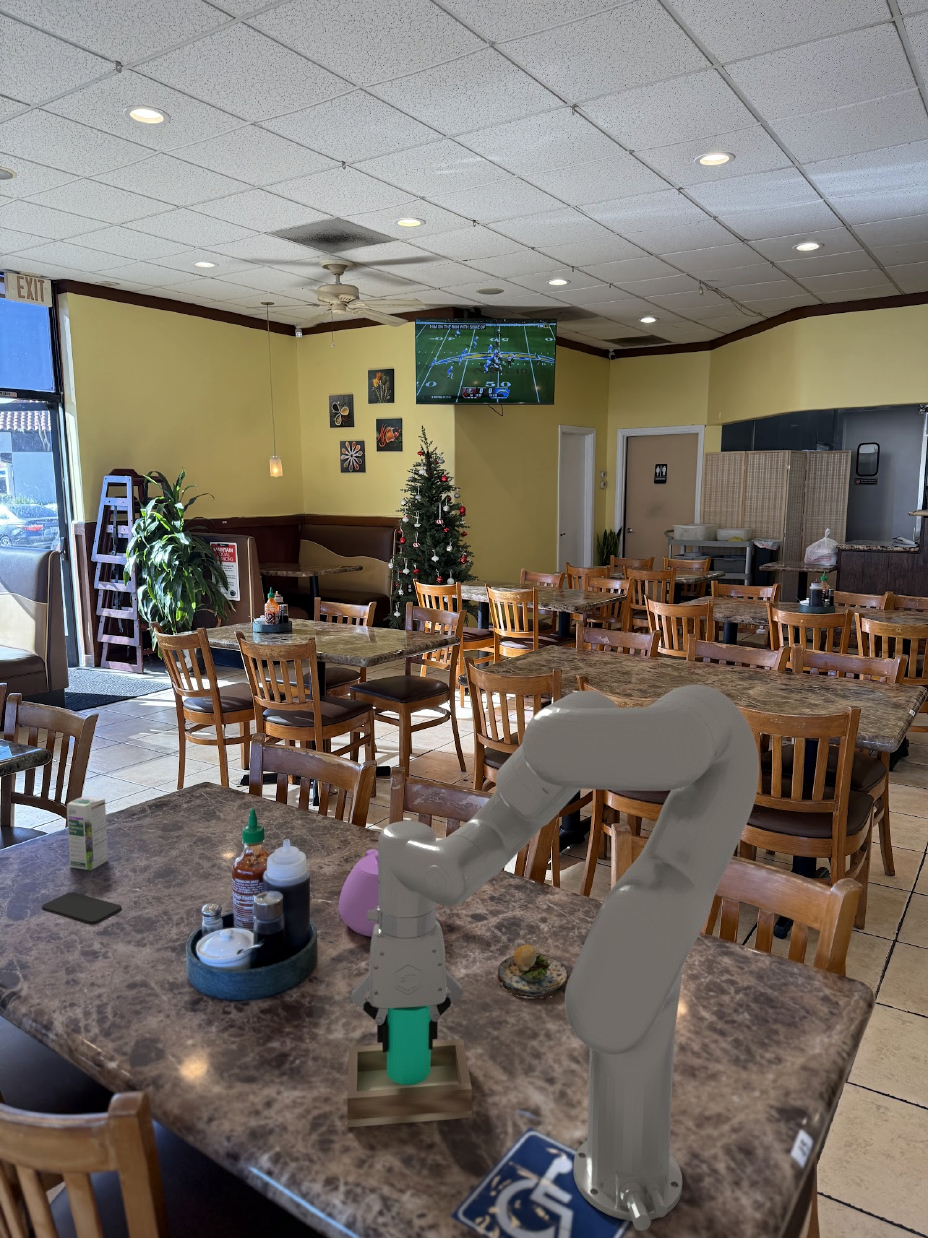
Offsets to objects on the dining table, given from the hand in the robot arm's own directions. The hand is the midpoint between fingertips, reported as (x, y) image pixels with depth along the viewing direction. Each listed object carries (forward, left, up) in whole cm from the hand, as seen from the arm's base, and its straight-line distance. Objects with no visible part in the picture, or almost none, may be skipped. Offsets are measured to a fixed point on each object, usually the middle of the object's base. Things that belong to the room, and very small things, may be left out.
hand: (407, 1043), depth 114 cm
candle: (0, 0, -4) cm, 4 cm away
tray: (0, 0, -7) cm, 7 cm away
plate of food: (+25, -22, -8) cm, 35 cm away
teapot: (+48, 0, -8) cm, 49 cm away
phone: (+59, +61, -8) cm, 85 cm away
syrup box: (+80, +66, -7) cm, 104 cm away
